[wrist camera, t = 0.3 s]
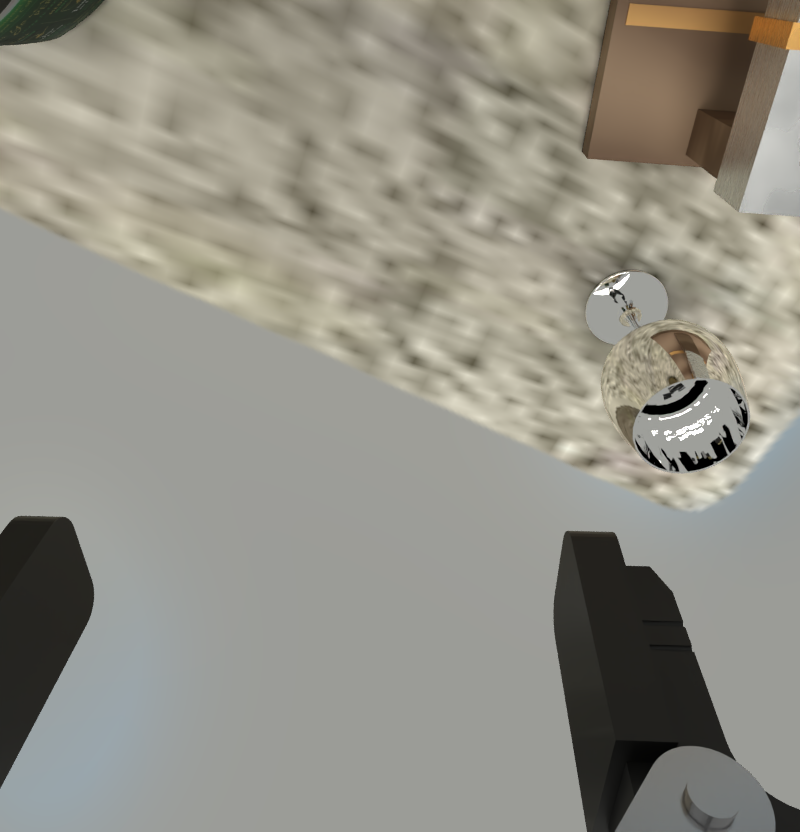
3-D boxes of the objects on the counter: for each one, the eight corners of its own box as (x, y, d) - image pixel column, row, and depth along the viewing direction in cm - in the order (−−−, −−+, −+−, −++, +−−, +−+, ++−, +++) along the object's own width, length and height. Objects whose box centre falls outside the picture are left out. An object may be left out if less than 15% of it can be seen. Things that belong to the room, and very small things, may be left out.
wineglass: (700, 312, 39) (791, 433, 29) (611, 373, 42) (667, 505, 31) (642, 235, 37) (717, 337, 27) (551, 304, 40) (590, 421, 29)
